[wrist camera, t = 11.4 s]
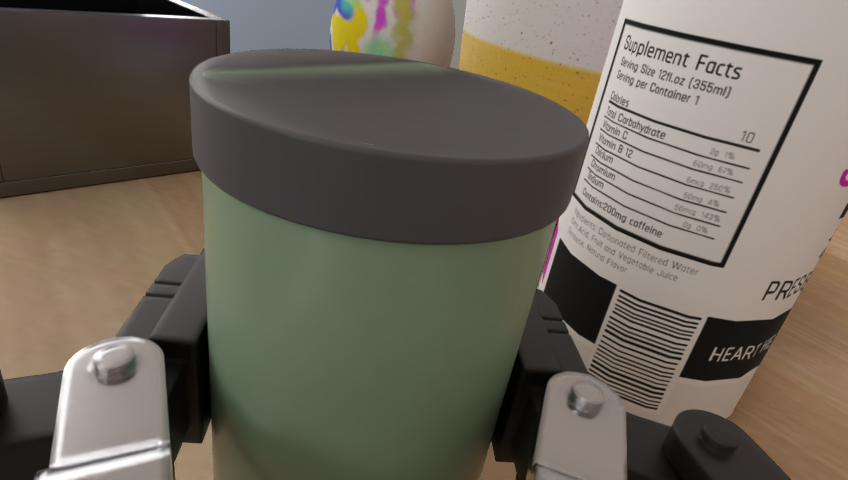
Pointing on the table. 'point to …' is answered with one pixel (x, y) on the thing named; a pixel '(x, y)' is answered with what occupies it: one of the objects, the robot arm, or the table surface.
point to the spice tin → (369, 257)
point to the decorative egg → (395, 29)
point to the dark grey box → (99, 89)
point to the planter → (542, 46)
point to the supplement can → (702, 195)
